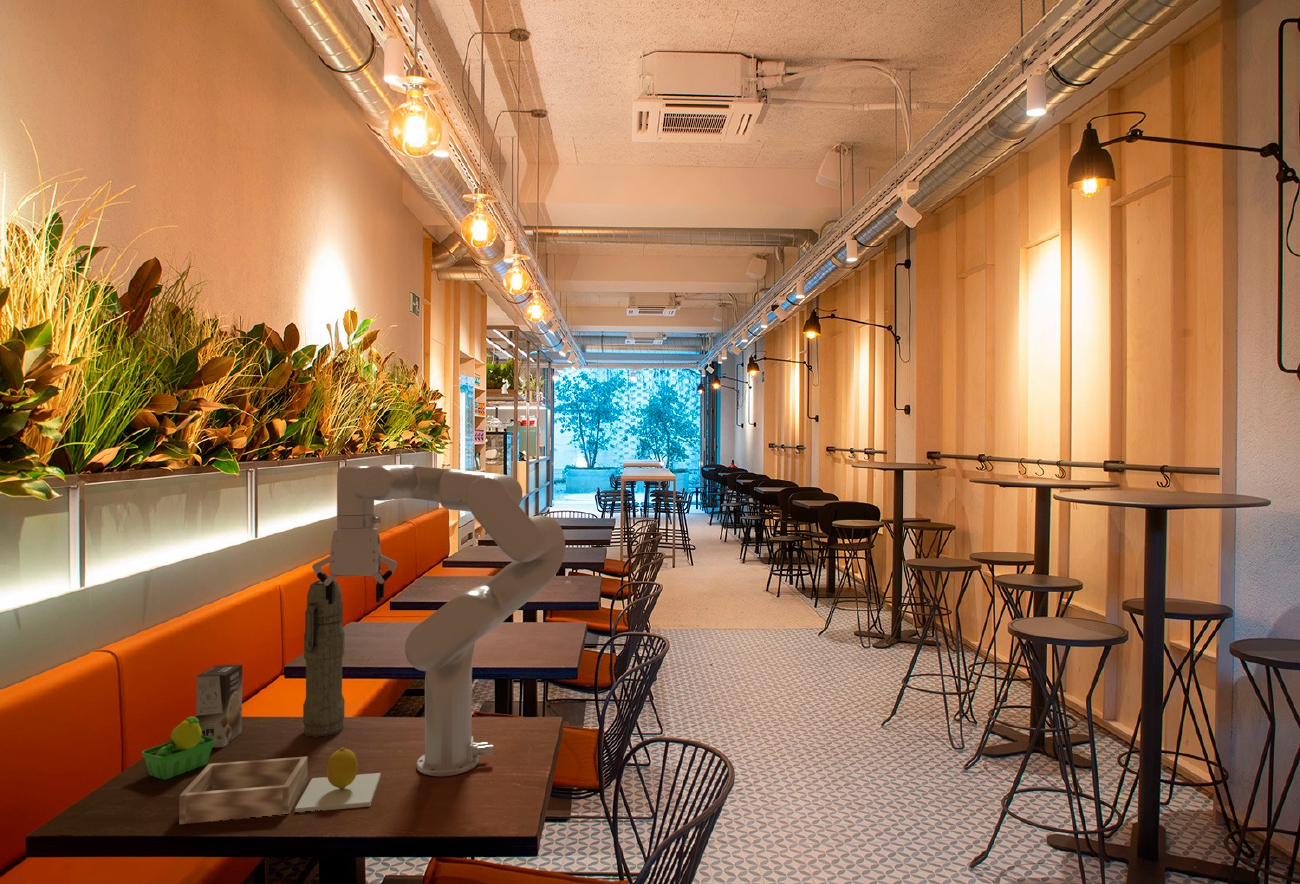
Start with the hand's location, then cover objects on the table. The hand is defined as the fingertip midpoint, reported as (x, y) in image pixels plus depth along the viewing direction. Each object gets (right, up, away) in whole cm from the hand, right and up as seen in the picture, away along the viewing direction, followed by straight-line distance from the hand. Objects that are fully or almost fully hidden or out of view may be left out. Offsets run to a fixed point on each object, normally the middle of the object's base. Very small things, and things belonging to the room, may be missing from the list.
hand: (355, 602), depth 164 cm
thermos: (-13, -34, +15) cm, 39 cm away
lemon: (+4, -33, -18) cm, 37 cm away
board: (+4, -33, -18) cm, 38 cm away
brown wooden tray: (-12, -33, -21) cm, 41 cm away
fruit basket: (-33, -34, -7) cm, 48 cm away
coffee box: (-34, -34, +9) cm, 49 cm away
